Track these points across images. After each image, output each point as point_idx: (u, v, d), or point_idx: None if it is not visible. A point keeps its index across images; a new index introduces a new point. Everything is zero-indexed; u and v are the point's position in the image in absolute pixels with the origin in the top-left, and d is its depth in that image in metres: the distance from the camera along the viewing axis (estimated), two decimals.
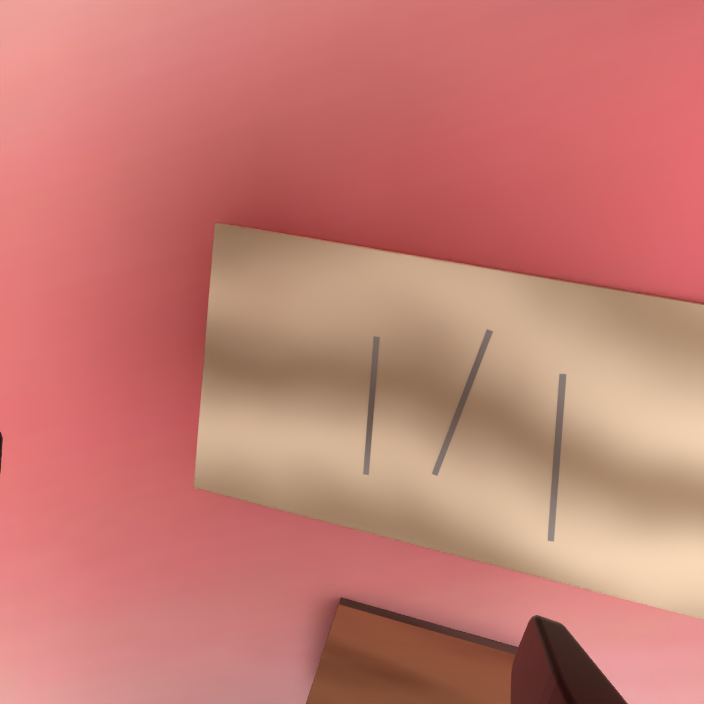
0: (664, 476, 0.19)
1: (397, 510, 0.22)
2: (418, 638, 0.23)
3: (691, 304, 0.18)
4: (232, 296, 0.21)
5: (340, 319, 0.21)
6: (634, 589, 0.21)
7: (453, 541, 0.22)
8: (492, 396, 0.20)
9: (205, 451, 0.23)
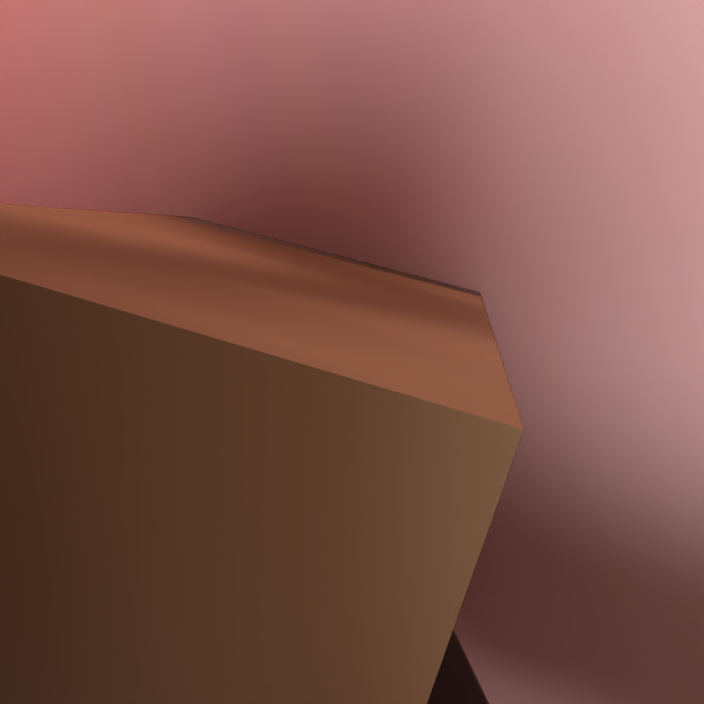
0: None
1: None
2: None
3: None
4: None
5: None
6: None
7: None
8: None
9: None
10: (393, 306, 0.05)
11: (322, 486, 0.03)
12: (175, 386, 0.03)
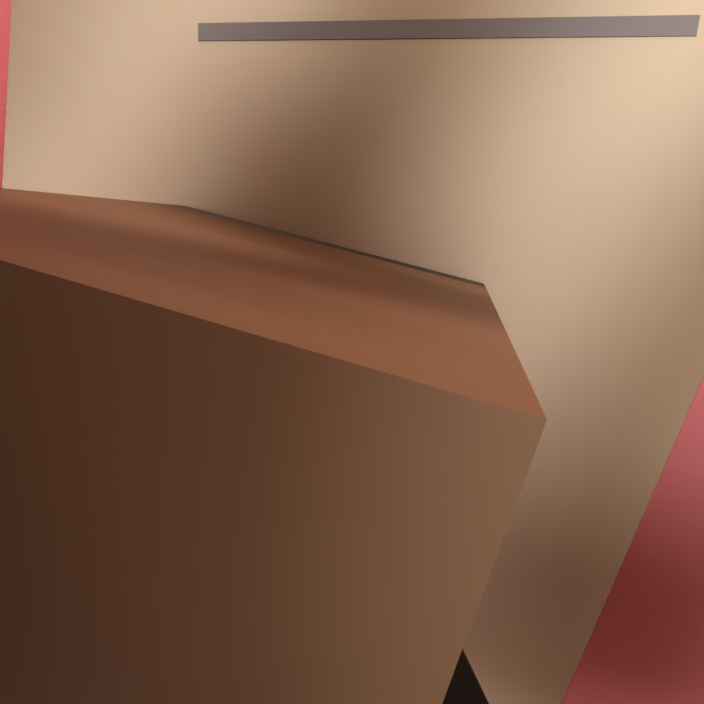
0: None
1: (564, 461, 0.08)
2: None
3: None
4: None
5: None
6: None
7: (676, 321, 0.08)
8: (257, 204, 0.08)
9: None
10: (397, 293, 0.05)
11: (324, 484, 0.02)
12: (166, 374, 0.02)
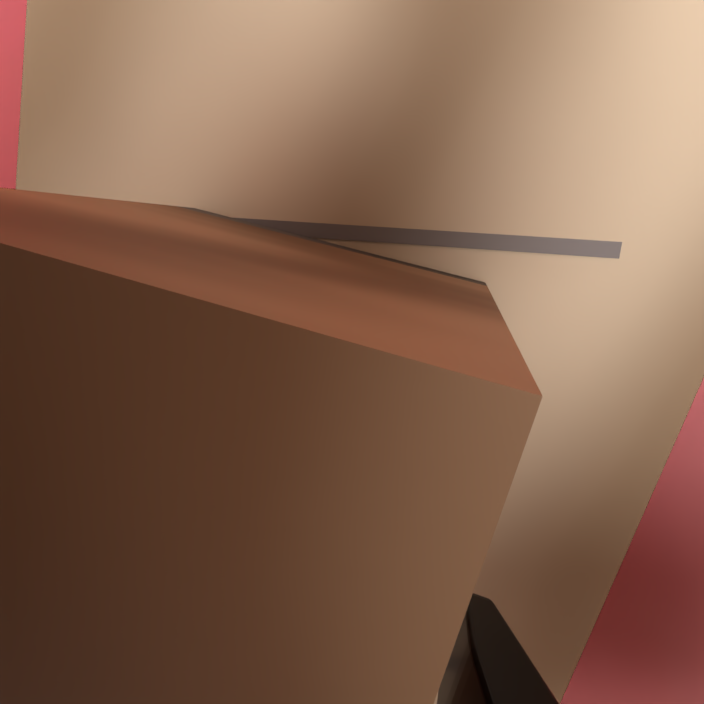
0: None
1: (511, 604, 0.09)
2: None
3: None
4: None
5: None
6: None
7: (607, 492, 0.08)
8: None
9: None
10: (401, 289, 0.05)
11: (336, 458, 0.03)
12: (188, 359, 0.03)
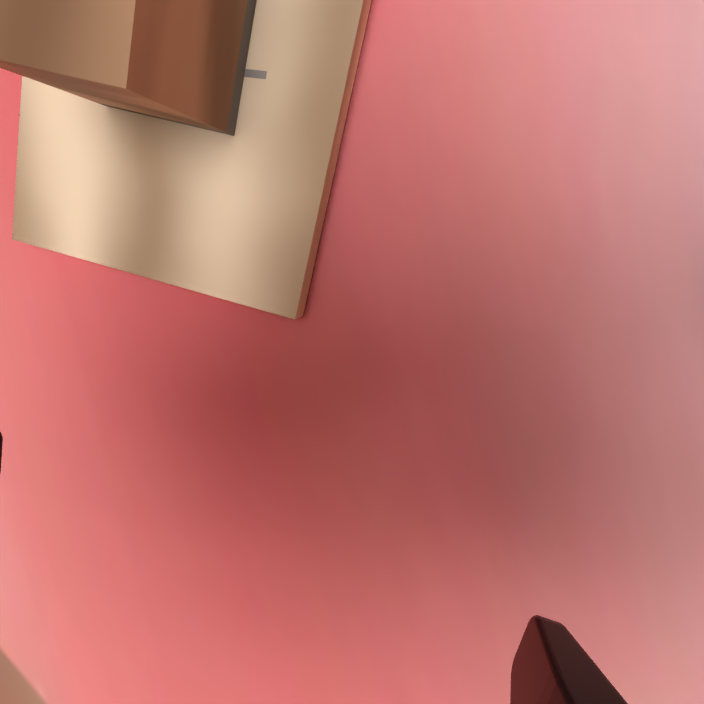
0: None
1: (313, 30, 0.17)
2: None
3: None
4: (76, 230, 0.20)
5: (91, 102, 0.19)
6: None
7: None
8: None
9: (247, 294, 0.19)
10: None
11: None
12: None
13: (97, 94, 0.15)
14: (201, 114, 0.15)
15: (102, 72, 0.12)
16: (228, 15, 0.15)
